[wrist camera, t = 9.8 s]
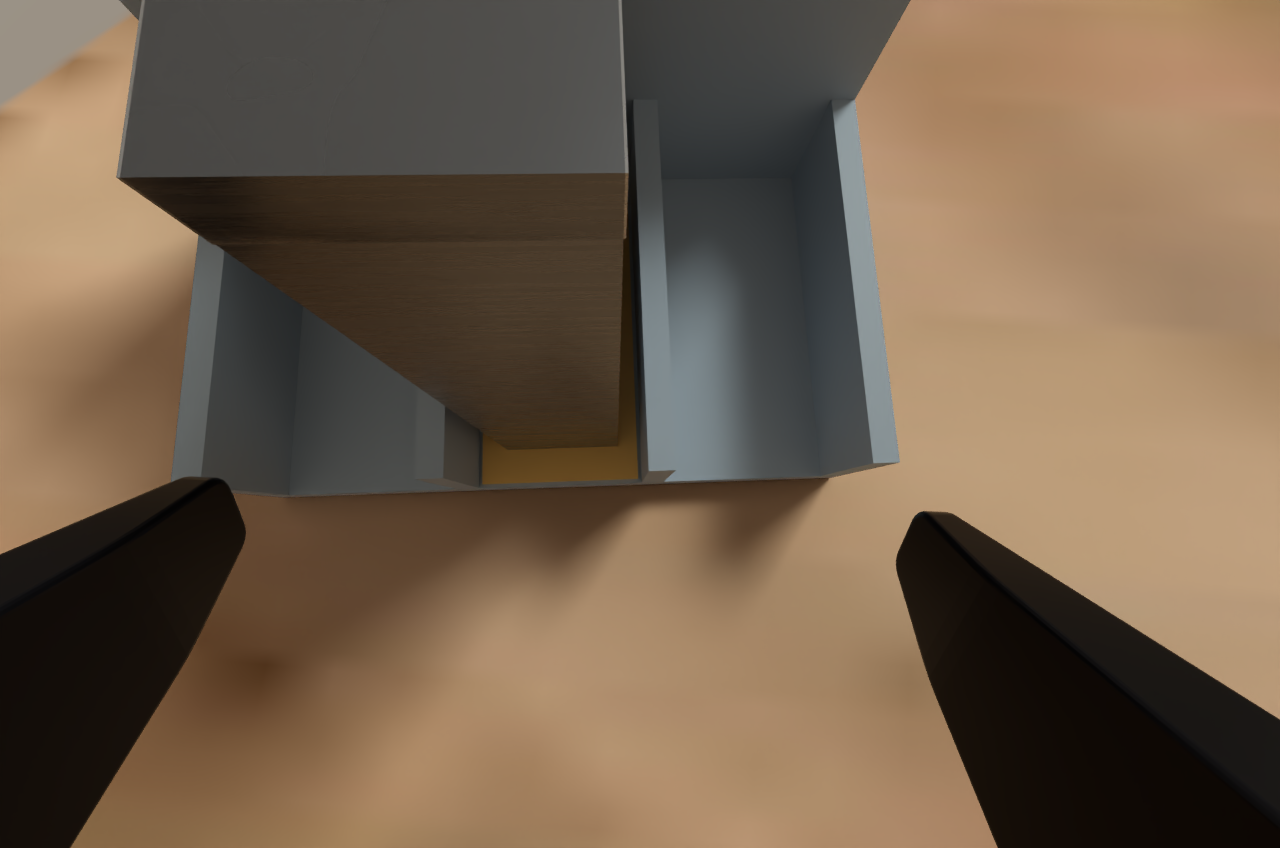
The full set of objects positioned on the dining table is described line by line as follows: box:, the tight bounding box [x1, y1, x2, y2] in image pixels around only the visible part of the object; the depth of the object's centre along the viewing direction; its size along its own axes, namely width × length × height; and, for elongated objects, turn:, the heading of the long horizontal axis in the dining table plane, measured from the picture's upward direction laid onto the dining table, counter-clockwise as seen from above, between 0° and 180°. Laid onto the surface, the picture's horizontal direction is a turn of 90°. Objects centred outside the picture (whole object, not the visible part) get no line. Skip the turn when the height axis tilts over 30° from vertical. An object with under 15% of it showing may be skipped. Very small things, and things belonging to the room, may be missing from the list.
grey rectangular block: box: [116, 0, 629, 450], centre depth 10 cm, size 7×3×12 cm, turn 2°
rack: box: [120, 0, 910, 497], centre depth 11 cm, size 10×16×12 cm, turn 92°
